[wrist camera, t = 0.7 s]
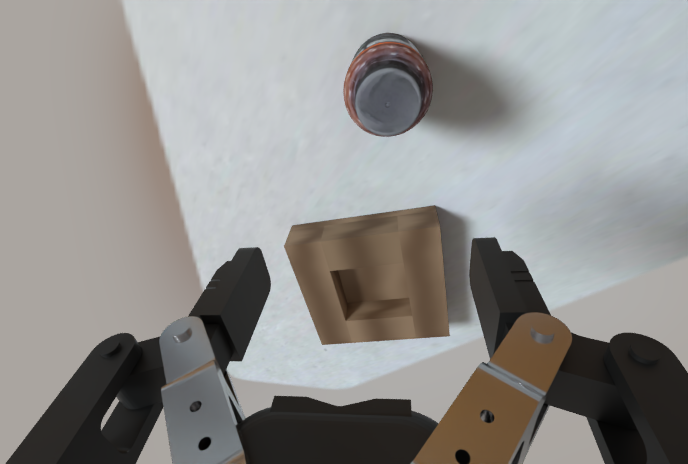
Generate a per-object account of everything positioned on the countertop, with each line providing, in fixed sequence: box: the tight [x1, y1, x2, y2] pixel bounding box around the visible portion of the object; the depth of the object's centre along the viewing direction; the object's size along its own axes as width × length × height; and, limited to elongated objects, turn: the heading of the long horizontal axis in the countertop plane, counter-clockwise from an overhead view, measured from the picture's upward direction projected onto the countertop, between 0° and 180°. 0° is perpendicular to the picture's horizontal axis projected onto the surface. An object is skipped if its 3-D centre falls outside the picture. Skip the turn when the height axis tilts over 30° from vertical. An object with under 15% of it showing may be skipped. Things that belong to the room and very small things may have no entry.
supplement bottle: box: [344, 33, 433, 137], centre depth 26 cm, size 6×6×11 cm
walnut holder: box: [284, 206, 450, 345], centre depth 41 cm, size 16×16×4 cm
